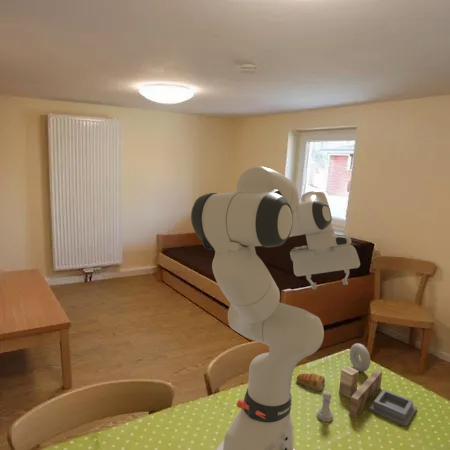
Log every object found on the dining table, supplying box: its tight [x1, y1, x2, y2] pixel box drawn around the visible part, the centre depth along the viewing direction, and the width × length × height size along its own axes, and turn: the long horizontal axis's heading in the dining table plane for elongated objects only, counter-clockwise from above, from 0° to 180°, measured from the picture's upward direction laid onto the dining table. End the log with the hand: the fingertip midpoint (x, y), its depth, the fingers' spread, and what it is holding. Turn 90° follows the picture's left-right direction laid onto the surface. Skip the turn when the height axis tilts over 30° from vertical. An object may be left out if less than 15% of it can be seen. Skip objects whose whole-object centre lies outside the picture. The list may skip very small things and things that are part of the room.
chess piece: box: [316, 391, 334, 423], centre depth 111 cm, size 5×5×8 cm
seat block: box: [368, 389, 418, 428], centre depth 116 cm, size 11×11×3 cm
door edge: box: [348, 369, 383, 419], centre depth 121 cm, size 22×2×6 cm, turn 139°
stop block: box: [338, 365, 360, 399], centre depth 124 cm, size 4×4×8 cm
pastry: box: [296, 373, 326, 392], centre depth 129 cm, size 9×7×4 cm
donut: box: [349, 342, 371, 373], centre depth 139 cm, size 10×4×10 cm, turn 16°
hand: (329, 286), depth 117 cm, fingers open, 8 cm apart
